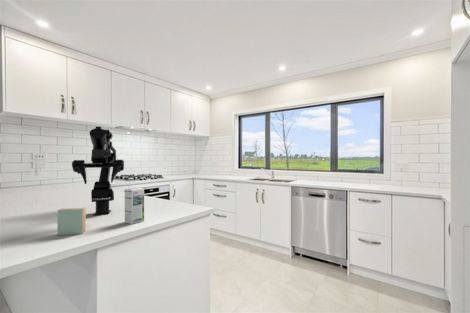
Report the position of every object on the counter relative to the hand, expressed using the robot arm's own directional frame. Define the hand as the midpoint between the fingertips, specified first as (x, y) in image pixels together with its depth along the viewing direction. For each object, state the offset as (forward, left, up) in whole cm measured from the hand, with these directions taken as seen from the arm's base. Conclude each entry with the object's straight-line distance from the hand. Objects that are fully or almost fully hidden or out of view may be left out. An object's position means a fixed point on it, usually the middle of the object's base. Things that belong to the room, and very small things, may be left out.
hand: (98, 182), depth 88 cm
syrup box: (+2, +14, -17) cm, 22 cm away
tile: (+10, -6, -17) cm, 21 cm away
